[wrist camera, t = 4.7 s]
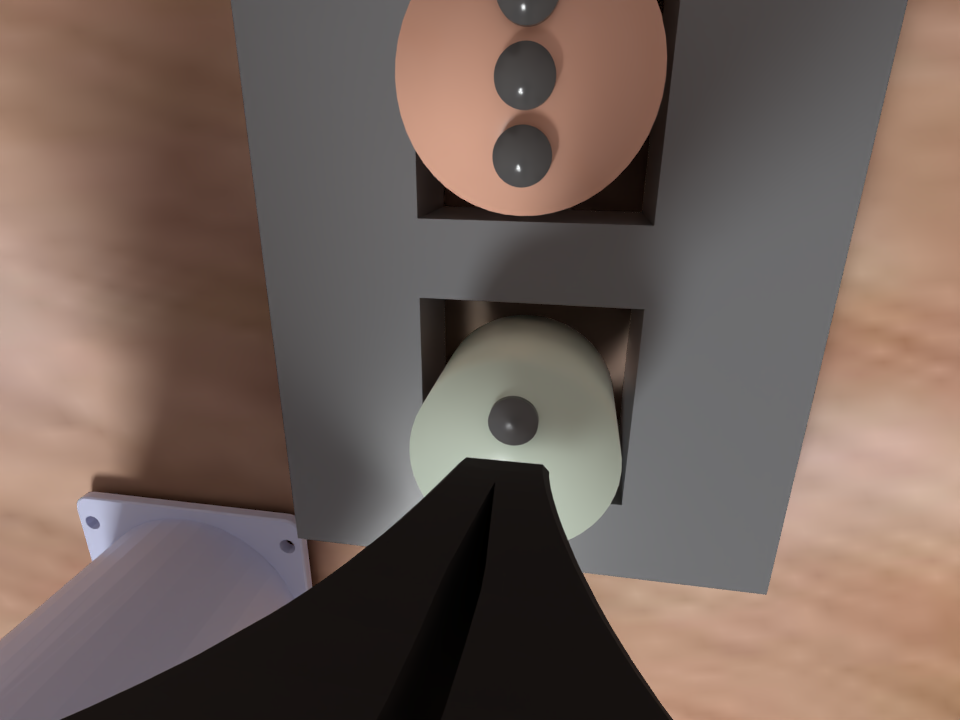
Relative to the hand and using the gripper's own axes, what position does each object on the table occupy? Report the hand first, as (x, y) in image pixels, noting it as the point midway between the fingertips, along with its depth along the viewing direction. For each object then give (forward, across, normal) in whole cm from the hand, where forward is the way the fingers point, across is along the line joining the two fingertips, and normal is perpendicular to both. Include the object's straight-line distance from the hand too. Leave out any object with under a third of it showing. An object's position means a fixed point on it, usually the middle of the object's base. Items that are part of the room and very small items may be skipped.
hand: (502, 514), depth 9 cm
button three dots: (+5, 0, -7) cm, 8 cm away
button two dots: (+5, 0, 0) cm, 5 cm away
